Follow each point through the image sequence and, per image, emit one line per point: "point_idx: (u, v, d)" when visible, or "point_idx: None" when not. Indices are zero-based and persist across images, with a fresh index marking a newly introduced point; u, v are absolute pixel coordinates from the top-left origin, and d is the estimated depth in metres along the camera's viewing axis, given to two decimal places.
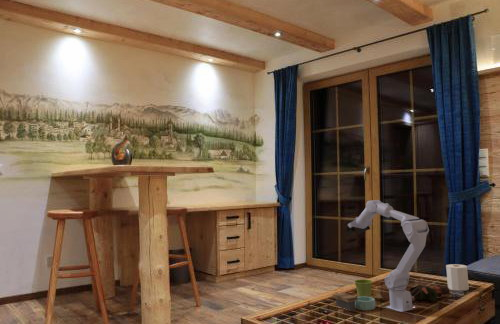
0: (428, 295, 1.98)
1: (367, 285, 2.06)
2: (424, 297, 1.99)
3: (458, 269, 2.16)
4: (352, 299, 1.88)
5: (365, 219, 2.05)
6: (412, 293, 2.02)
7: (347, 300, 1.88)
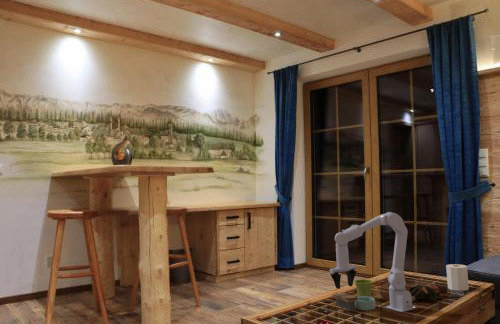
0: (428, 295, 1.98)
1: (367, 285, 2.06)
2: (424, 297, 2.00)
3: (458, 269, 2.16)
4: (352, 299, 1.88)
5: (346, 256, 1.92)
6: (412, 293, 2.02)
7: (347, 300, 1.88)
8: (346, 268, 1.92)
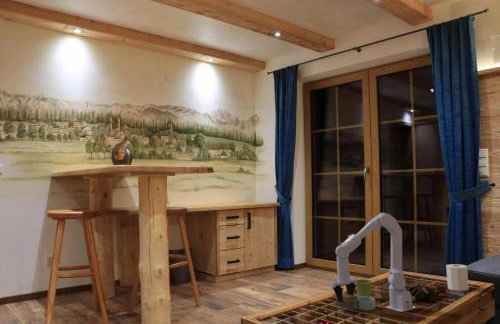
0: (428, 295, 1.98)
1: (367, 285, 2.06)
2: (424, 297, 2.00)
3: (458, 269, 2.16)
4: (352, 299, 1.88)
5: (347, 269, 1.92)
6: (412, 293, 2.02)
7: (347, 300, 1.88)
8: (347, 282, 1.91)
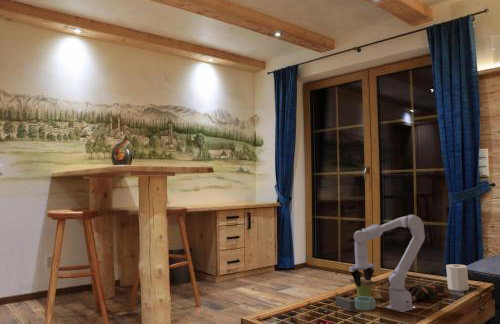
0: (428, 294, 1.99)
1: None
2: (424, 296, 2.00)
3: (458, 269, 2.16)
4: (370, 284, 1.89)
5: (365, 254, 1.93)
6: (412, 293, 2.02)
7: (365, 284, 1.89)
8: (365, 266, 1.92)
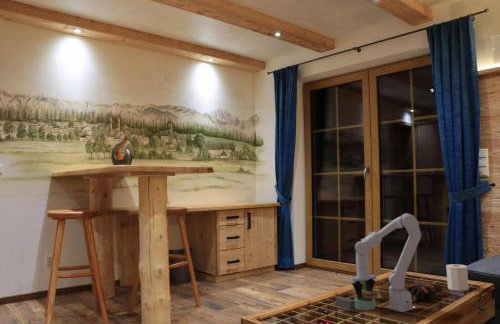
0: (428, 294, 1.99)
1: None
2: (424, 296, 2.00)
3: (458, 269, 2.16)
4: (372, 295, 1.89)
5: (366, 265, 1.92)
6: (412, 293, 2.02)
7: (367, 296, 1.88)
8: (366, 277, 1.92)
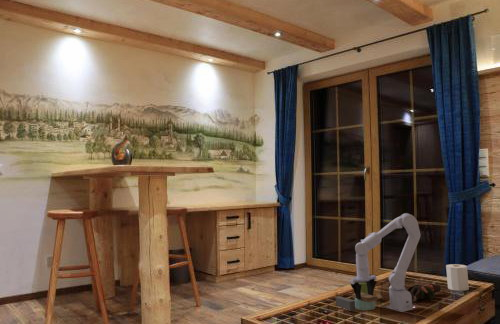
0: (428, 294, 2.00)
1: None
2: (423, 296, 2.01)
3: (458, 269, 2.16)
4: (372, 299, 1.89)
5: (366, 266, 1.92)
6: (412, 293, 2.02)
7: (367, 300, 1.88)
8: (366, 278, 1.92)
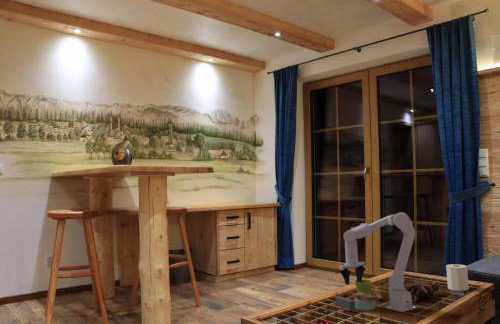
0: (428, 294, 2.00)
1: (367, 285, 2.06)
2: (423, 296, 2.01)
3: (458, 269, 2.16)
4: (372, 299, 1.89)
5: (354, 253, 1.97)
6: (411, 293, 2.02)
7: (367, 300, 1.88)
8: (355, 264, 1.97)
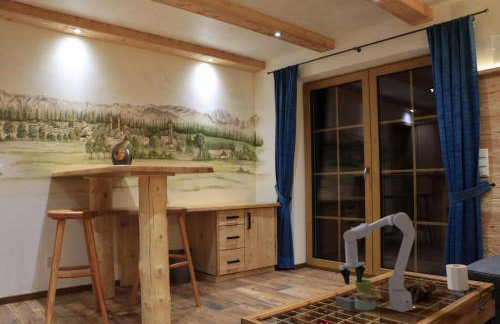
0: (427, 293, 2.01)
1: (367, 285, 2.06)
2: (423, 296, 2.02)
3: (458, 269, 2.16)
4: (372, 299, 1.89)
5: (354, 253, 1.97)
6: (411, 293, 2.02)
7: (367, 300, 1.88)
8: (355, 264, 1.97)
